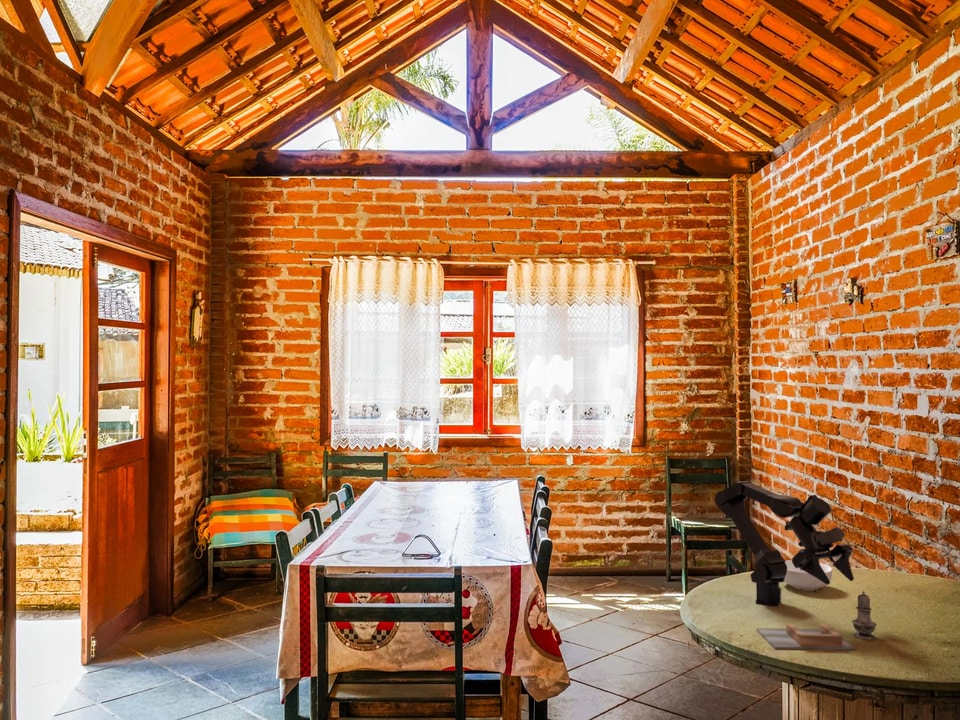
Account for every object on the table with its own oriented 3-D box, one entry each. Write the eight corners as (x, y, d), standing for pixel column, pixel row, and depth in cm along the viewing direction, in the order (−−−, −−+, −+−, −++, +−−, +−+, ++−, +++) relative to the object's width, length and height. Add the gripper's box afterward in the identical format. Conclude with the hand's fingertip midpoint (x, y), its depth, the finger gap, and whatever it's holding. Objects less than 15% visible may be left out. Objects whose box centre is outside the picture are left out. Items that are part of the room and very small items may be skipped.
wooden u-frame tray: (756, 630, 201) (756, 619, 201) (831, 631, 200) (831, 620, 200) (774, 648, 187) (774, 636, 187) (855, 650, 186) (854, 637, 186)
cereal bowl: (765, 583, 249) (765, 562, 249) (802, 578, 255) (802, 557, 255) (806, 597, 233) (805, 574, 233) (844, 591, 240) (843, 569, 240)
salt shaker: (880, 640, 193) (879, 594, 193) (855, 639, 194) (854, 593, 194) (872, 633, 199) (871, 588, 199) (849, 632, 200) (848, 587, 200)
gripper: (799, 520, 205) (833, 569, 194) (846, 515, 213) (882, 562, 202) (777, 543, 212) (809, 592, 201) (824, 537, 219) (857, 584, 209)
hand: (840, 582), depth 203 cm, fingers open, 9 cm apart
